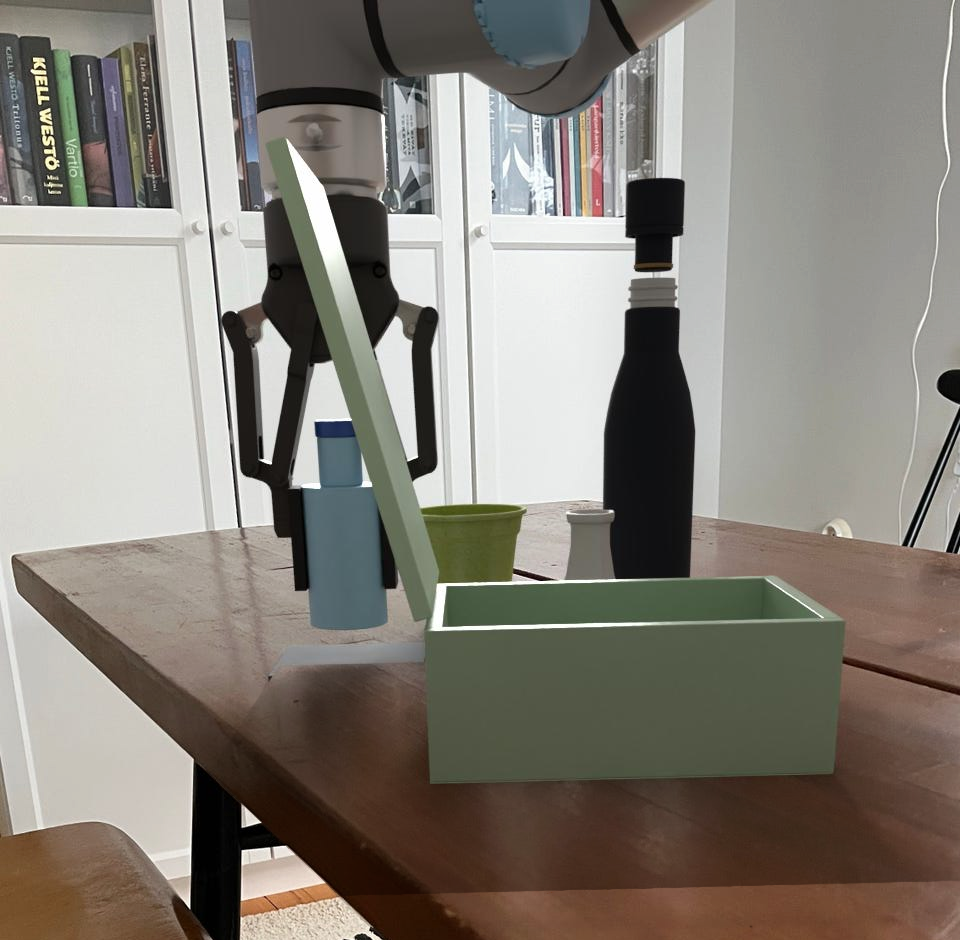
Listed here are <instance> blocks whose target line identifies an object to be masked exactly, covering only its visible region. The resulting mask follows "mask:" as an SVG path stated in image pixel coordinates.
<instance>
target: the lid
mask: <svg viewBox="0 0 960 940" xmlns="http://www.w3.org/2000/svg"><path fill="white" fill-rule="evenodd" d="M265 145H266V149H267V152H268V155H269V158H270V161H271V165H272V168H273V171H274V174H275V177H276V181H277V184H278V187H279V190H280V193H281V197H282V200H283V203H284V206H285V209H286V213H287V216H288V219H289V222H290V225H291V229H292V232H293V235H294V238H295V242H296V245H297V248H298V251H299V254H300V258H301V261H302V264H303V267H304V270H305V274H306V277H307V280H308V283H309V286H310V290H311V293H312V296H313V299H314V302H315V306H316V309H317V312H318V315H319V318H320V322H321V325H322V328H323V331H324V334H325V338H326V341H327V344H328V347H329V350H330V354H331V357H332V360H333V361H332V362H333V366H334V370H335V373H336V375H337V379H338V382H339V385H340V389H341V393H342V394H343V398H344V401H345V404H346V408H347V411H348V415H349V419H351V421H352V424H353V427H354V430H355V434H356V437H357V440H358V443H359V446H360V450H361V455H362V460H363V462H364V466H365V469H366V473H367V475H368V479H369V482H371V485H372V488H373V491H374V495H375V498H376V501H377V504H378V507H379V511H380V514H381V517H382V520H383V523H384V527H385V530H386V533H387V536H388V539H389V543H390V546H391V549H392V552H393V555H394V559H395V562H396V565H397V568H398V576H399V578H400V581H401V585H402V586H403V591H404V594H405V597H406V601H407V603H408V606H409V610H410V613H411V617H412V619H413V622H415V623H418V622H421V621H426V620H427V619H428V618H431V617H432V615H433V609H434V602H435V596H436V589H437V583H438V577H439V569H438V566H437V562H436V559H435V556H434V552H433V549H432V546H431V543H430V539H429V536H428V533H427V529H426V526H425V523H424V519H423V516H422V513H421V509H420V508H421V505H420V503H419V499H418V496H417V493H416V490H415V485H414V483H412V479H411V476H410V473H409V469H408V466H407V463H406V459H405V456H404V453H403V449H402V446H401V443H400V439H399V436H398V433H397V430H396V426H395V423H394V420H393V416H392V413H391V410H390V406H389V403H388V400H387V396H386V393H385V390H384V386H383V383H382V380H381V376H380V373H379V370H378V366H377V363H376V360H375V356H374V353H373V350H372V346H371V343H370V340H369V336H368V333H367V330H366V327H365V323H364V320H363V317H362V313H361V310H360V307H359V303H358V300H357V297H356V293H355V290H354V287H353V283H352V280H351V277H350V273H349V270H348V267H347V263H346V260H345V257H344V253H343V250H342V247H341V243H340V240H339V237H338V233H337V230H336V227H335V223H334V220H333V217H332V214H331V210H330V207H329V204H328V200H327V197H326V194H325V190H324V187H323V186H322V184H321V183H320V182H319V181H318V179H317V178H316V177H315V175H314V174H313V173H312V171H311V170H310V169H309V167H308V166H307V165H306V163H305V162H304V161H303V160H302V158H301V157H300V156H299V154H298V153H297V152H296V150H295V149H294V148H293V146H292V145H291V144H290V142H289V141H288V140H287V138H286V137H285V136H282V137H280V138H277V139H274V140H271V141H268V142H266V143H265Z"/></svg>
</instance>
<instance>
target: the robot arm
mask: <svg viewBox="0 0 960 940" xmlns="http://www.w3.org/2000/svg"><path fill="white" fill-rule="evenodd" d="M714 1H715V0H247V6H248V7H247V8H248V17H249V29H250V41H251V51H252V52H251V53H252V63H253V65H252V66H253V75H254V86H255V108H256V109H255V110H256V130H257V142H258V156H259V157H258V160H259V173H260V175H259V176H260V188H261V189H262V190H263V191H264V192H265V193H267V194H268V195H271V199H270V200H269V201H267V202H266V203H265V206H264V207H263V208H262V217H263V230H264V231H263V232H264V243H265V256H266V257H265V258H266V270H267V272H266V273H267V280H266V284H265V288H264V290H263V292H262V295H261V301H260V302H258V303H255V304H254V305H250V306H247V307H246V308H243V309H240V310H237V311H233V310H227V311H225V312H224V313H223V314H222V316H221V320H220V322H221V326H222V329H223V331H224V334H225V335H226V338H227V341H228V343H229V346H230V348H231V351H232V356H233V357H232V359H233V374H234V390H235V405H236V406H235V407H236V408H235V409H236V425H237V440H238V457H239V459H238V460H239V470H240V473H241V474H242V475H243V477H245V478H250V479H254V480H256V481H260V482H261V483H264V484H266V486H268V488H269V490H270V494H271V496H270V497H271V508H272V520H273V521H272V522H273V531H274V533H275V536H276V537H277V539H290V543H291V555H292V570H293V583H294V592H308V578H307V564H306V549H305V534H304V520H303V505H302V491H301V487H302V486H303V485H304V484H301V485H297V484H296V485H293V481H294V477H295V476H294V473H295V466H296V461H297V455H298V450H299V445H300V441H301V440H300V439H301V435H302V430H303V424H304V420H305V419H304V418H305V414H306V409H307V402H308V398H309V392H310V389H311V382H312V379H313V375H314V371H315V367H316V366H315V365H316V364H317V365H319V364H326V363H330V362H333V360H332V357H331V354H330V350H329V347H328V344H327V341H326V338H325V334H324V331H323V328H322V325H321V322H320V318H319V315H318V312H317V309H316V306H315V302H314V299H313V296H312V293H311V290H310V286H309V283H308V280H307V277H306V274H305V270H304V267H303V264H302V261H301V258H300V254H299V251H298V248H297V245H296V242H295V238H294V235H293V232H292V229H291V225H290V222H289V219H288V216H287V213H286V209H285V206H284V203H283V200H282V197H281V193H280V190H279V187H278V184H277V181H276V177H275V174H274V171H273V168H272V165H271V161H270V158H269V155H268V152H267V149H266V145H265V143H266V142H268V141H271V140H274V139H277V138H280V137H282V136H285V137H286V138H287V140H288V141H289V142H290V144H291V145H292V146H293V148H294V149H295V150H296V152H297V153H298V154H299V156H300V157H301V158H302V160H303V161H304V162H305V163H306V165H307V166H308V167H309V169H310V170H311V171H312V173H313V174H314V175H315V177H316V178H317V179H318V181H319V182H320V183H321V184H322V186H323V187H324V190H325V194H326V197H327V200H328V204H329V207H330V210H331V214H332V217H333V220H334V223H335V227H336V230H337V233H338V237H339V240H340V243H341V247H342V250H343V253H344V257H345V260H346V263H347V267H348V270H349V273H350V277H351V280H352V283H353V287H354V290H355V293H356V297H357V300H358V303H359V307H360V310H361V313H362V317H363V320H364V323H365V327H366V330H367V333H368V336H369V340H370V343H371V346H372V350H373V353H374V356H375V360H376V363H377V366H378V370H379V373H380V376H381V380H382V383H383V386H384V390H385V393H386V396H387V400H388V403H389V406H390V410H391V413H392V416H393V420H394V423H395V426H396V430H397V433H398V436H399V439H400V443H401V446H402V449H403V453H404V456H405V459H406V463H407V466H408V469H409V473H410V476H411V479H412V483H413V482H414V481H416V480H417V479H419V478H421V477H424V476H426V475H428V474H432V473H433V472H434V471H436V469H437V467H438V464H439V461H438V460H439V459H438V457H439V456H438V438H437V423H436V421H437V419H436V405H435V402H436V401H435V388H434V387H435V386H434V369H433V367H434V366H433V350H432V348H433V345H434V341H435V338H436V334H437V331H438V327H439V323H440V315H439V313H438V311H437V309H436V308H435V307H433V306H429V305H428V306H425V307H424V306H421V305H418V304H415V303H412V302H409V301H406V300H402V299H401V298H400V295H399V293H398V291H397V289H396V287H395V285H394V283H393V280H392V273H391V257H390V255H391V254H390V236H389V234H390V233H389V212H388V207H387V206H386V205H385V202H384V201H383V200H381V199H378V194H380V193H383V192H384V190H385V189H386V188H387V186H388V185H387V184H388V183H387V161H386V159H387V158H386V157H387V156H386V133H385V132H386V131H385V130H386V129H385V116H384V114H385V113H384V112H385V111H384V97H383V96H384V80H386V79H397V80H398V79H409V78H411V77H419V76H420V77H422V76H434V75H447V74H467V75H469V76H470V77H472V78H474V79H476V80H477V81H479V82H480V83H482V84H483V85H485V86H487V88H488V87H489V88H490V89H492V90H494V91H496V92H498V93H499V94H501V95H502V96H504V97H505V99H506V100H507V101H508V103H509V104H511V105H513V106H514V107H515V108H516V109H517V110H520V111H522V112H524V113H526V114H529V115H535V116H538V117H541V118H546V119H551V120H563V119H570V118H573V117H576V116H578V115H581V114H582V113H584V112H586V111H587V110H588V109H590V108H591V107H593V105H594V104H595V103H596V102H597V101H598V99H599V98H600V97H601V96H602V95H603V93H604V92H605V90H606V89H607V87H608V85H609V82H610V80H611V78H612V75H613V72H614V71H615V70H616V69H618V68H619V67H621V66H622V65H623V64H625V63H626V62H627V61H628V60H630V59H631V58H633V57H634V56H636V55H637V54H638V53H640V52H641V51H642V50H644V49H646V48H647V47H649V46H650V45H651V44H653V43H654V42H656V41H657V40H659V39H660V38H662V37H663V36H665V35H666V34H668V33H669V32H670V31H672V30H673V29H675V28H676V27H677V26H679V25H681V24H682V23H683V22H685V21H686V20H687V19H689V18H691V17H692V16H693V15H695V14H696V13H697V12H699V11H701V10H702V9H704V8H705V7H707V6H708V5H709V4H711V3H712V2H714ZM395 317H397V318H398V319H400V321H401V324H402V334H403V336H404V338H405V339H407V340H409V341H411V370H412V385H413V403H414V415H415V416H414V419H415V420H414V421H415V435H416V451H417V455H416V456H414V457H412V458H410V459H408V457H407V453H406V451H405V446H404V444H403V441H402V437H401V434H400V430H399V427H398V424H397V420H396V418H395V414H394V411H393V406H392V404H391V400H390V397H389V394H388V390H387V387H386V384H385V380H384V378H383V374H382V369H381V365H380V362H379V358H378V356H377V353H376V349H377V347H378V345H379V343H380V342H381V341H382V339H383V337H384V335H385V334H386V332H387V330H388V329H389V327H390V325H391V324H392V322H393V321H394V319H395ZM267 321H269V322H270V324H271V325H272V326H273V328H274V329H275V330H276V332H277V333H278V335H280V337H281V338H282V340H283V341H284V343H286V345H287V346H288V348H289V350H290V351H289V352H290V353H289V359H288V363H287V370H286V381H285V387H284V392H283V398H282V403H281V409H280V413H279V419H278V425H277V430H276V436H275V442H274V446H273V452H272V458H271V461H269V460H267V459H265V448H264V445H265V444H264V428H263V427H264V426H263V409H262V390H261V389H262V388H261V376H260V375H261V374H260V373H261V371H260V359H259V358H260V357H259V352H258V347H257V345H258V344H260V343H261V342H262V341H263V339H264V325H265V323H266V322H267ZM413 484H414V483H413ZM381 520H382V517H381ZM382 540H383V561H384V582H385V589H386V590H397V589H398V585H399V571H398V568H397V565H396V562H395V559H394V555H393V552H392V549H391V546H390V543H389V539H388V536H387V533H386V530H385V527H384V523H383V520H382Z"/></svg>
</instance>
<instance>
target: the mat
mask: <svg viewBox="0 0 960 940" xmlns="http://www.w3.org/2000/svg"><path fill="white" fill-rule="evenodd" d="M392 663H393V664H395V663H396V664H397V663H400V664H401V663H425V642H424V641H421V642H419V641H418V642H415V641H414V642H378V643H373V642H372V643H338V644H337V643H336V644H334V643H333V644H299V645H297V644H296V645H295V644H294V645H292V644H291V645H288V646H287V648H286V649H285V651H284V652H283V654H282V655H281V657H280V658H279V660H277V663H276V664H275V666H274V667H273V669H272V670H271V671H270V673H269V674H268V676H267V681H268V682H270V681H271V680H272V678H273V676H274V675H275V673H276V672H277V670H278V669H279V668H280V666H308V665H309V666H310V665H314V666H316V665H353V664H356V665H359V664H392Z"/></svg>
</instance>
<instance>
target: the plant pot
mask: <svg viewBox="0 0 960 940" xmlns="http://www.w3.org/2000/svg"><path fill="white" fill-rule="evenodd" d="M420 509H421V513H422V516H423V519H424V523H425V526H426V529H427V533H428V536H429V539H430V543H431V546H432V549H433V552H434V556H435V559H436V562H437V566H438V569H439V577H438V583H437V584H454V583H495V582H513V576H514V566H515V558H516V557H515V556H516V549H517V548H516V547H517V539H518V535H519V534H520V532H521V528H522V527H521V526H522V520H523V515H525V514H527V512H528V507H526V506H524V505H519V504H510V503H509V504H508V503H457V504H443V505H433V506H424V507H420Z"/></svg>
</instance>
